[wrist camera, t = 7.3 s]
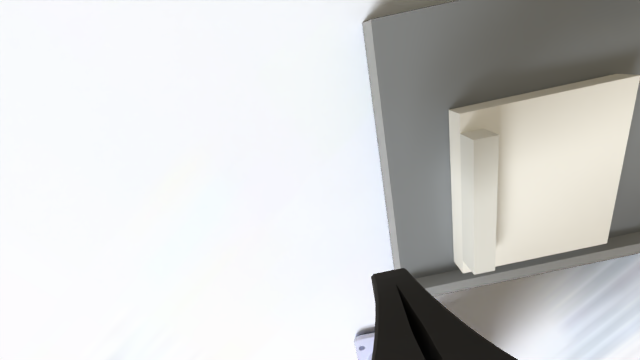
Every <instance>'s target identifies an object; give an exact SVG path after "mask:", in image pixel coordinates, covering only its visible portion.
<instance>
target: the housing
mask: <svg viewBox="0 0 640 360" xmlns="http://www.w3.org/2000/svg"><path fill="white" fill-rule="evenodd" d="M362 25H363V33H364V41H365V48H366V56H367V64H368V71H369V79H370V87H371V94H372V102H373V110H374V118H375V125H376V133H377V141H378V148H379V156H380V164H381V171H382V179H383V187H384V195H385V202H386V210H387V218H388V225H389V233H390V241H391V248H392V256H393V264H394V270H396V269H401V268H405V269H407V270H408V272H409V273H410V274H411V275H412V276H413V277H414V278H415V279H416V280H417V281H418V282H419V283H420V284H421V285H422V286H423V287H424V288H425V289H426V290H427V291H428V292H429V293H430V294H431V295H432V296H437V295H442V294H447V293H452V292H456V291H461V290H466V289H471V288H475V287H480V286H485V285H490V284H495V283H499V282H504V281H509V280H514V279H518V278H523V277H528V276H533V275H538V274H542V273H547V272H552V271H557V270H561V269H566V268H571V267H576V266H581V265H585V264H590V263H595V262H600V261H604V260H609V259H614V258H619V257H624V256H628V255H633V254H638V253H640V81H639V86H638V91H637V96H636V101H635V106H634V111H633V116H632V121H631V126H630V131H629V136H628V141H627V146H626V151H625V156H624V161H623V166H622V171H621V176H620V181H619V186H618V191H617V196H616V201H615V206H614V211H613V216H612V221H611V226H610V231H609V236H608V241H607V243H606V244H601V245H597V246H592V247H587V248H582V249H578V250H573V251H568V252H563V253H558V254H554V255H549V256H544V257H539V258H535V259H530V260H525V261H520V262H516V263H511V264H506V265H501V266H496V267H495V271H490V272H485V273H481V274H476V275H474V274H473V273H472V272H468V273H462V272H461V270H460V269H459V268H458V266H457V265H456V264H455V262H454V252H453V223H452V195H451V166H450V137H449V110H450V109H455V108H459V107H464V106H468V105H473V104H478V103H482V102H487V101H492V100H496V99H501V98H506V97H510V96H515V95H520V94H524V93H529V92H534V91H538V90H543V89H548V88H552V87H557V86H562V85H566V84H571V83H576V82H580V81H585V80H590V79H594V78H599V77H604V76H608V75H613V74H630V75H640V0H458V1H453V2H449V3H444V4H439V5H435V6H430V7H426V8H421V9H416V10H412V11H407V12H403V13H398V14H393V15H389V16H384V17H380V18H375V19H371V20H368V21H366V22H364V23H362Z"/></svg>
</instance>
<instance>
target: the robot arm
mask: <svg viewBox="0 0 640 360" xmlns="http://www.w3.org/2000/svg"><path fill="white" fill-rule="evenodd" d="M371 279H372V285H373V291H374V297H375V303H376V320H375V332H374V333H369V334H364V335H360V336H357V337H356V338H355V339H354V344H355V348H356V353H357V358H358V360H518V359H516V358H514V357H513V356H511V355H509V354H508V353H506V352H504V351H503V350H501V349H500V348H498V347H497V346H495V345H494V344H492V343H491V342H489V341H488V340H486V339H485V338H484V337H482V336H481V335H479V334H478V333H476V332H475V331H474V330H472V329H471V328H470V327H468V326H467V325H466V324H465V323H463V322H462V321H461V320H460V319H458V318H457V317H456V316H455V315H453V314H452V313H451V312H450V311H449V310H447V309H446V308H445V307H444V306H443V305H442V304H441V303H440V302H438V301H437V300H436V299H435V298H434V297H433V296H432V295H431V294H430V293H429V292H428V291H427V290H426V289H425V288H424V287H423V286H422V285H421V284H420V283H419V282H418V281H417V280H416V279H415V278H414V277H413V276H412V275H411V274H410V273H409V272H408V270H407V269H405V268H401V269H396V270H391V271H386V272H382V273H377V274H373V276H372V277H371Z"/></svg>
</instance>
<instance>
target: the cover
mask: <svg viewBox="0 0 640 360" xmlns="http://www.w3.org/2000/svg"><path fill="white" fill-rule="evenodd" d="M639 81H640V75H630V74H613V75H608V76H604V77H599V78H594V79H590V80H585V81H580V82H576V83H571V84H566V85H562V86H557V87H552V88H548V89H543V90H538V91H534V92H529V93H524V94H520V95H515V96H510V97H506V98H501V99H496V100H492V101H487V102H482V103H478V104H473V105H468V106H464V107H459V108H455V109H450V110H449V137H450V166H451V195H452V223H453V252H454V262H455V264H456V265H457V266H458V268H459V269H460V270H461V272H462V273H468V272H472V273H473V274H474V275H476V274H481V273H485V272H490V271H495V267H496V266H501V265H506V264H511V263H516V262H520V261H525V260H530V259H535V258H539V257H544V256H549V255H554V254H558V253H563V252H568V251H573V250H578V249H582V248H587V247H592V246H597V245H601V244H606V243H607V241H608V236H609V231H610V226H611V221H612V216H613V211H614V206H615V201H616V196H617V191H618V186H619V181H620V176H621V171H622V166H623V161H624V156H625V151H626V146H627V141H628V136H629V131H630V126H631V121H632V116H633V111H634V106H635V101H636V96H637V91H638V86H639Z"/></svg>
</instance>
